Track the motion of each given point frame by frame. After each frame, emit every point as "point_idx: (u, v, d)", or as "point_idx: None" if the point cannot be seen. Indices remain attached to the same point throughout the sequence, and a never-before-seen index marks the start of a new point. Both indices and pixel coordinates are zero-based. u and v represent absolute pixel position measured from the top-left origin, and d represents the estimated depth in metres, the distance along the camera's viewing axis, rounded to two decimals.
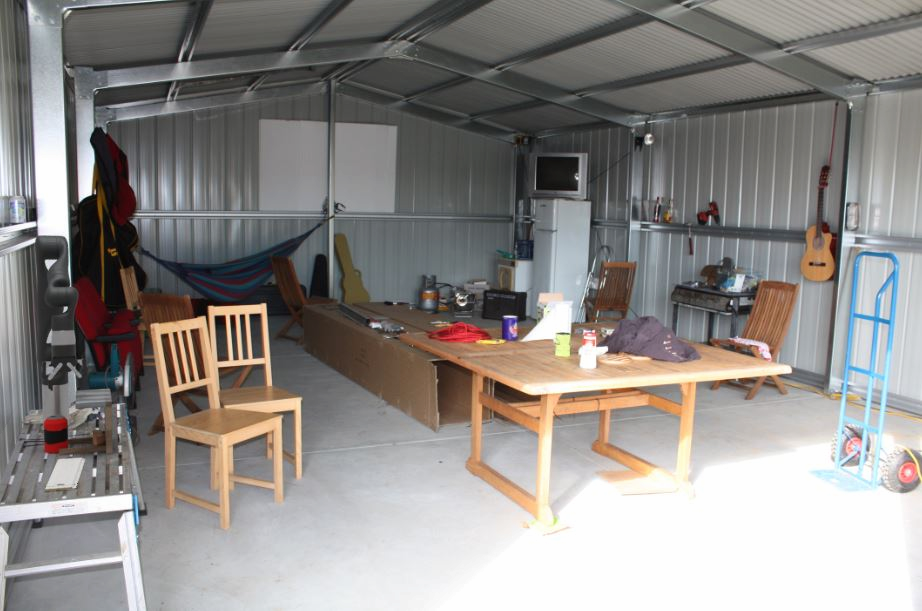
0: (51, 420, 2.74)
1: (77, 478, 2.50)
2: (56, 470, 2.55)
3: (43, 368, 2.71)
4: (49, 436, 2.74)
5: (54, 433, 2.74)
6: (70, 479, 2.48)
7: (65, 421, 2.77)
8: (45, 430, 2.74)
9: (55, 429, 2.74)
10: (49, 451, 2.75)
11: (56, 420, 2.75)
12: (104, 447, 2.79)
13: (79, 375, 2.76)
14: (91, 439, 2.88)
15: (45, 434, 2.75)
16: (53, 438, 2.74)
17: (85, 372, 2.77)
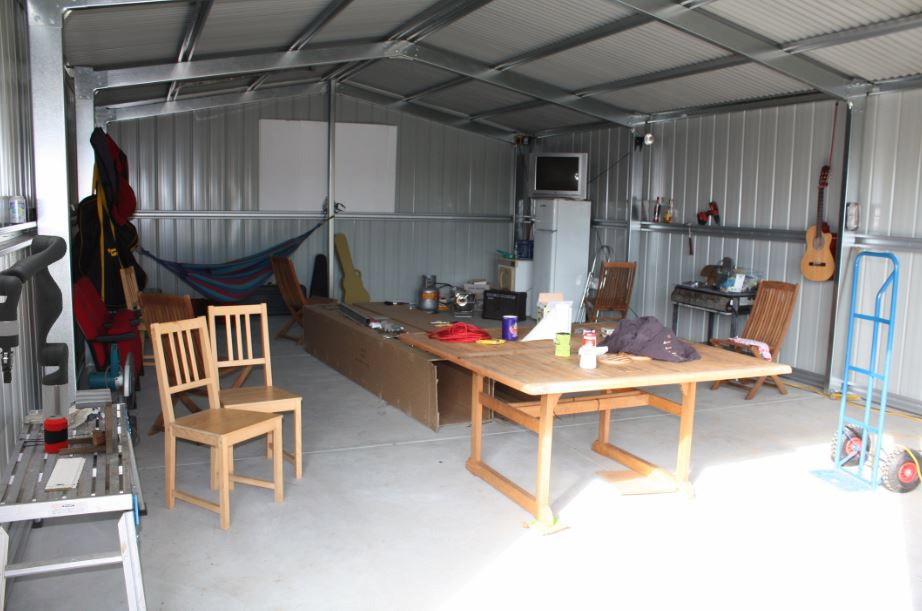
0: (51, 420, 2.74)
1: (77, 478, 2.50)
2: (56, 470, 2.56)
3: None
4: (49, 436, 2.74)
5: (54, 433, 2.74)
6: (69, 478, 2.48)
7: (65, 421, 2.77)
8: (45, 430, 2.74)
9: (55, 429, 2.74)
10: (49, 451, 2.75)
11: (56, 420, 2.75)
12: (104, 447, 2.79)
13: None
14: (91, 439, 2.88)
15: (45, 434, 2.75)
16: (53, 438, 2.74)
17: (2, 368, 2.67)
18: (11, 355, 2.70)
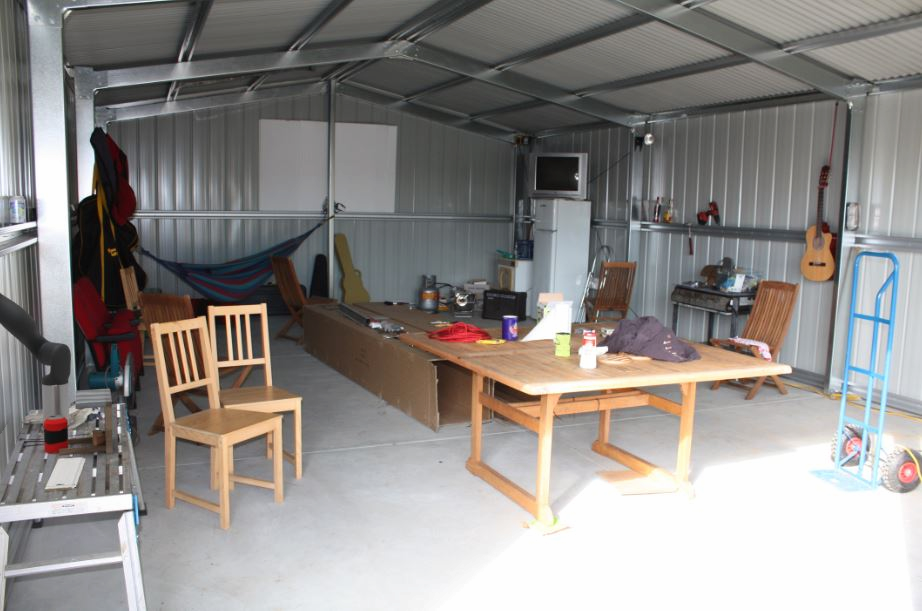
0: (51, 420, 2.74)
1: (77, 478, 2.50)
2: (56, 470, 2.56)
3: None
4: (49, 436, 2.74)
5: (54, 433, 2.74)
6: (69, 478, 2.49)
7: (65, 421, 2.77)
8: (45, 430, 2.74)
9: (55, 429, 2.74)
10: (49, 451, 2.75)
11: (56, 420, 2.75)
12: (104, 447, 2.79)
13: None
14: (91, 439, 2.88)
15: (45, 434, 2.75)
16: (53, 438, 2.74)
17: None
18: None
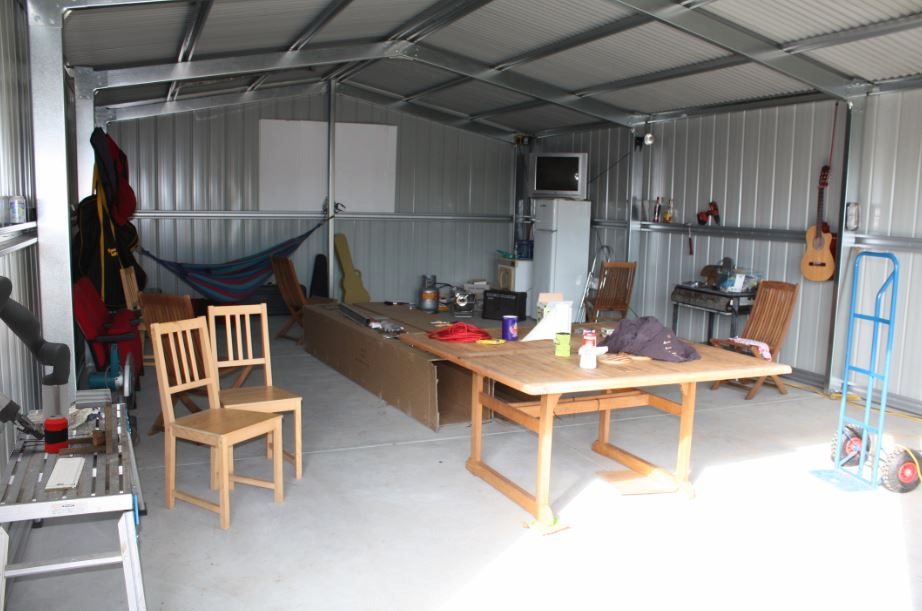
0: (51, 420, 2.74)
1: (77, 478, 2.51)
2: (56, 470, 2.56)
3: None
4: (49, 436, 2.74)
5: (55, 433, 2.74)
6: (69, 478, 2.49)
7: (65, 421, 2.77)
8: (45, 430, 2.74)
9: (55, 429, 2.74)
10: (49, 451, 2.75)
11: (56, 420, 2.75)
12: (104, 447, 2.79)
13: None
14: (91, 439, 2.88)
15: (45, 434, 2.75)
16: (53, 438, 2.74)
17: None
18: (22, 419, 2.71)
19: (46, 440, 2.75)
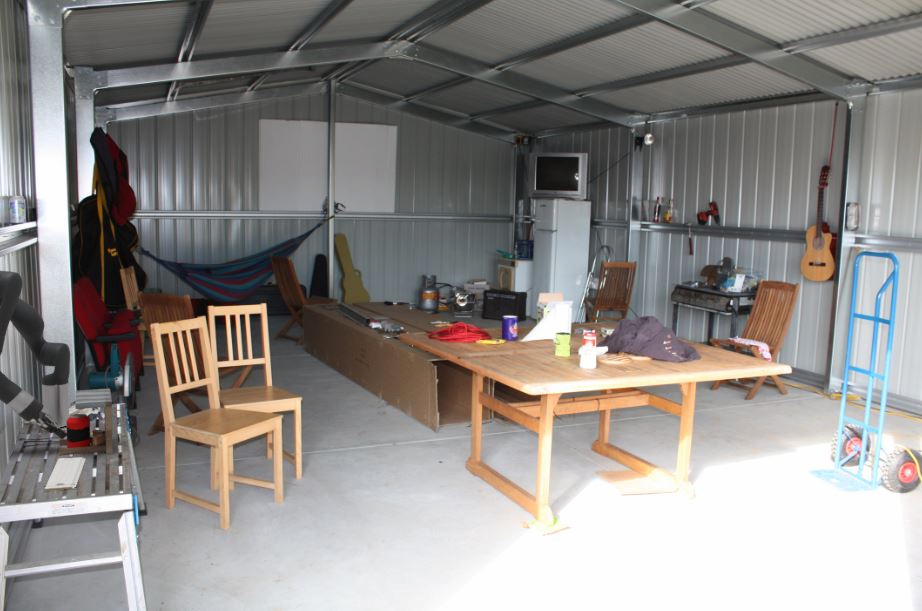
0: (74, 418, 2.77)
1: (77, 478, 2.51)
2: (56, 470, 2.56)
3: None
4: (72, 435, 2.77)
5: (77, 432, 2.77)
6: (69, 478, 2.49)
7: (87, 420, 2.80)
8: (68, 428, 2.77)
9: (77, 427, 2.77)
10: None
11: (78, 419, 2.77)
12: (104, 447, 2.79)
13: None
14: (91, 439, 2.88)
15: (68, 432, 2.78)
16: (76, 436, 2.77)
17: None
18: (46, 417, 2.74)
19: (68, 438, 2.78)
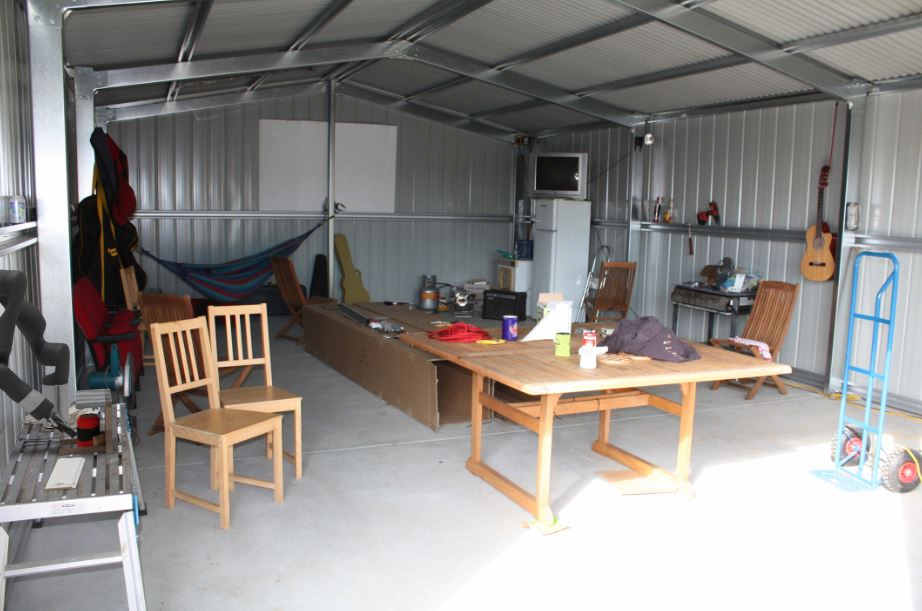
0: (84, 418, 2.78)
1: (77, 477, 2.51)
2: (56, 470, 2.56)
3: None
4: (82, 434, 2.78)
5: (87, 431, 2.78)
6: (69, 478, 2.49)
7: (97, 419, 2.81)
8: (78, 428, 2.79)
9: (87, 426, 2.78)
10: None
11: (89, 418, 2.79)
12: (104, 447, 2.79)
13: None
14: None
15: (78, 432, 2.79)
16: (86, 435, 2.78)
17: None
18: (56, 416, 2.75)
19: (79, 438, 2.79)
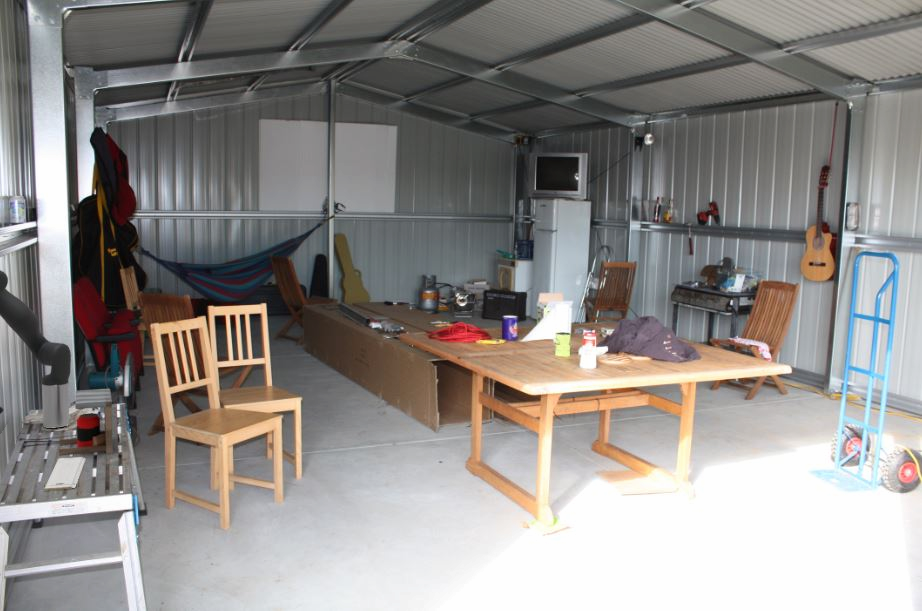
0: (84, 418, 2.78)
1: (77, 477, 2.51)
2: (56, 470, 2.56)
3: None
4: (82, 434, 2.78)
5: (87, 431, 2.78)
6: (69, 478, 2.49)
7: (97, 419, 2.81)
8: (78, 428, 2.79)
9: (87, 426, 2.78)
10: None
11: (88, 418, 2.79)
12: (104, 447, 2.79)
13: None
14: None
15: (78, 432, 2.79)
16: (86, 435, 2.78)
17: None
18: None
19: (79, 438, 2.79)
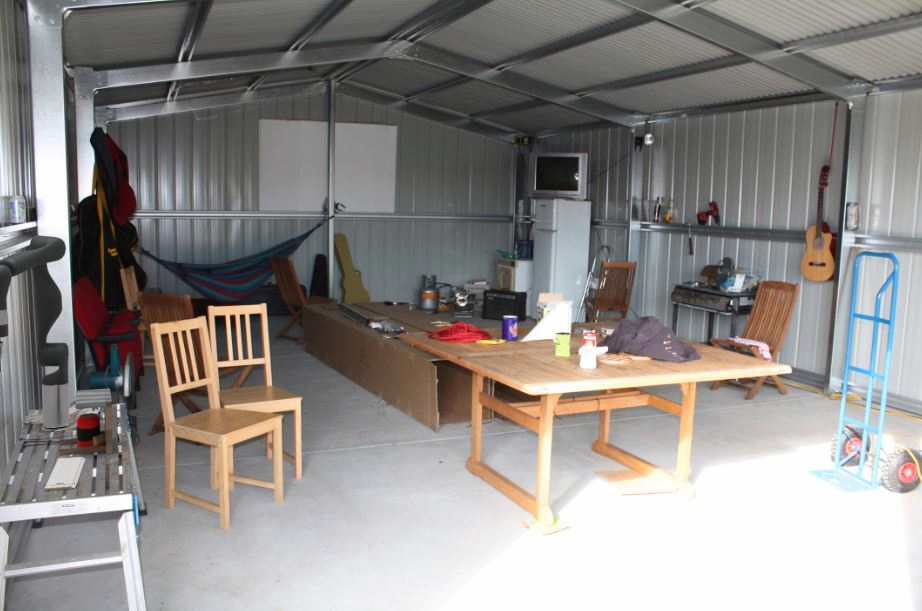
0: (84, 418, 2.78)
1: (77, 477, 2.51)
2: (56, 469, 2.56)
3: None
4: (82, 434, 2.78)
5: (87, 431, 2.78)
6: (69, 478, 2.49)
7: (97, 419, 2.81)
8: (78, 428, 2.79)
9: (87, 426, 2.78)
10: None
11: (88, 418, 2.79)
12: (104, 447, 2.79)
13: None
14: None
15: (78, 432, 2.79)
16: (86, 435, 2.78)
17: None
18: (0, 345, 2.66)
19: (79, 438, 2.79)
